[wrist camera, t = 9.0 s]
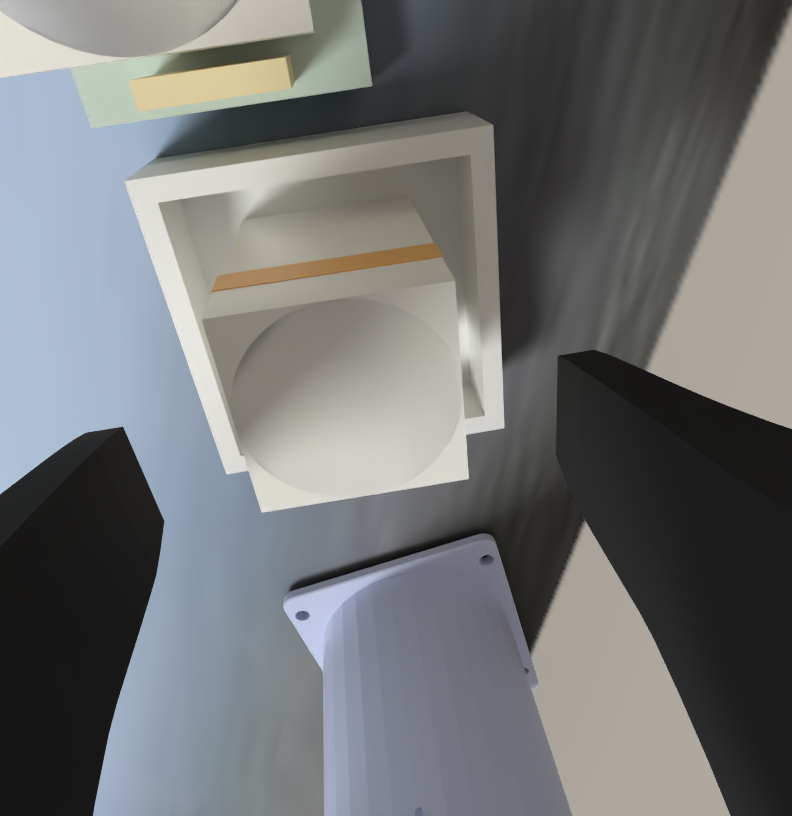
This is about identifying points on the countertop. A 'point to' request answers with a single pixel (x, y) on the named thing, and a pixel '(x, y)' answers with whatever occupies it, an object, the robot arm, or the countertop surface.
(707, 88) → the countertop surface
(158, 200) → the tray
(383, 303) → the block
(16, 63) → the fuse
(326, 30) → the fuse block
